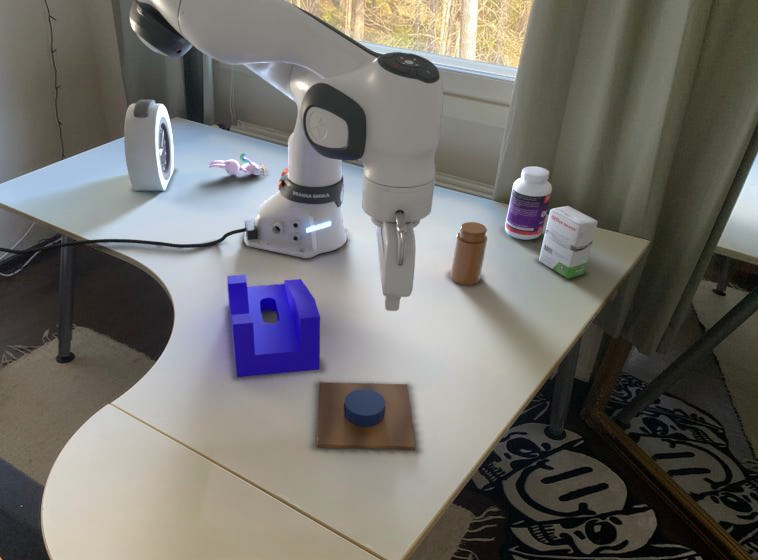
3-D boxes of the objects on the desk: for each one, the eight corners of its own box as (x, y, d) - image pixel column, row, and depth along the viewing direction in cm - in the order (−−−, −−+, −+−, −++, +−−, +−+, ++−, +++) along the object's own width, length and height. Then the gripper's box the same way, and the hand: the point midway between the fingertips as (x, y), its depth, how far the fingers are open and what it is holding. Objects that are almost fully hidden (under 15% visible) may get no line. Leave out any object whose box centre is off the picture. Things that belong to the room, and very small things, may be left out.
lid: (392, 411, 101) (393, 400, 100) (368, 433, 97) (369, 421, 96) (359, 394, 104) (360, 383, 103) (335, 414, 100) (336, 403, 99)
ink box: (585, 274, 134) (601, 220, 127) (566, 279, 133) (581, 225, 125) (555, 255, 141) (568, 203, 133) (536, 260, 139) (549, 208, 132)
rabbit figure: (263, 173, 179) (207, 167, 176) (266, 151, 176) (209, 145, 173) (265, 182, 175) (208, 176, 171) (268, 160, 171) (209, 154, 168)
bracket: (319, 369, 110) (320, 316, 104) (237, 377, 109) (232, 324, 102) (301, 301, 127) (300, 252, 120) (229, 307, 125) (225, 258, 119)
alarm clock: (161, 197, 164) (150, 116, 152) (131, 197, 164) (117, 115, 152) (176, 164, 181) (166, 89, 169) (148, 164, 181) (137, 88, 169)
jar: (450, 283, 132) (458, 233, 125) (450, 269, 136) (458, 219, 129) (480, 286, 131) (489, 235, 124) (479, 271, 135) (488, 222, 129)
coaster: (317, 447, 96) (317, 444, 96) (319, 385, 107) (319, 382, 107) (414, 449, 95) (415, 446, 95) (406, 387, 107) (407, 384, 106)
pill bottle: (542, 243, 145) (557, 180, 136) (504, 240, 146) (517, 177, 137) (539, 227, 151) (554, 165, 142) (503, 223, 152) (515, 162, 144)
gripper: (431, 234, 75) (419, 333, 84) (415, 165, 92) (406, 253, 100) (376, 233, 76) (369, 332, 84) (369, 164, 92) (364, 253, 100)
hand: (389, 289), depth 92 cm, fingers open, 8 cm apart
